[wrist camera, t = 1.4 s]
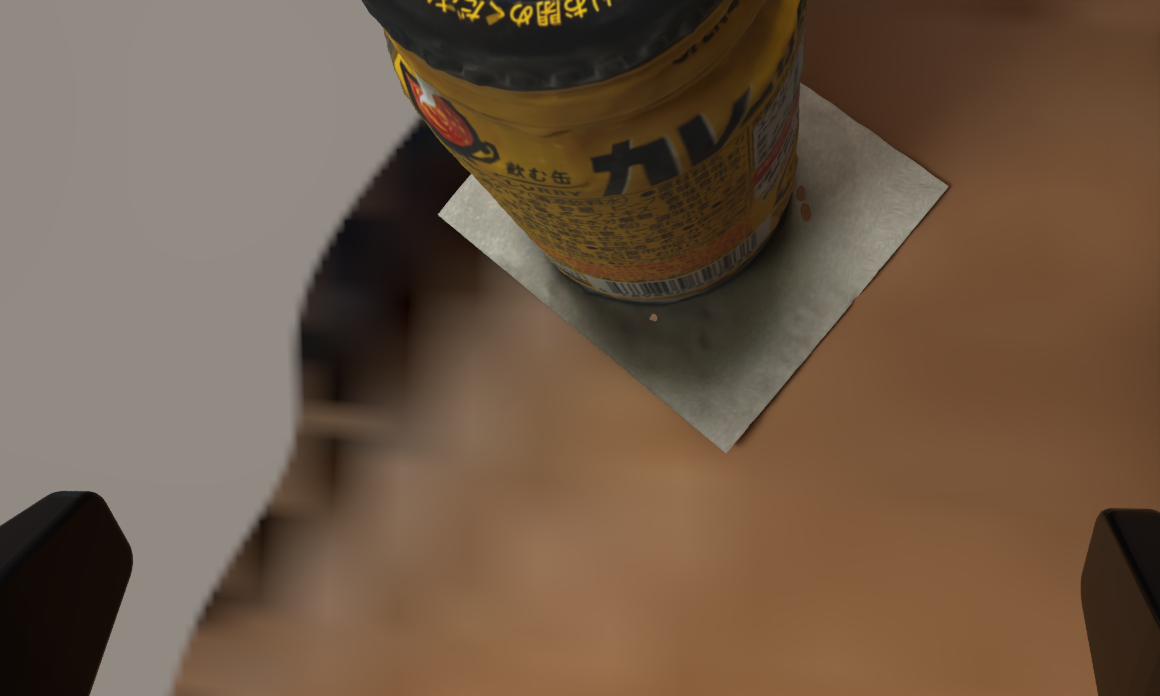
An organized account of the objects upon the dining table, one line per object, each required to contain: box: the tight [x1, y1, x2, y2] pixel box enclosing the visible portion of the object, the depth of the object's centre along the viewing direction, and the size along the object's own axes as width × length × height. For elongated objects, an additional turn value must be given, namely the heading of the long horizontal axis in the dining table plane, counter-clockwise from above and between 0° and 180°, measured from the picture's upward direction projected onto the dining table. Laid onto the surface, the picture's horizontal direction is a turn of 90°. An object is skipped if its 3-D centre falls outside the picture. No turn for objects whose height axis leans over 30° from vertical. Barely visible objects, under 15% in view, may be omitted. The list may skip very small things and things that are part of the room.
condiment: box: [362, 0, 948, 453], centre depth 17 cm, size 7×8×12 cm
